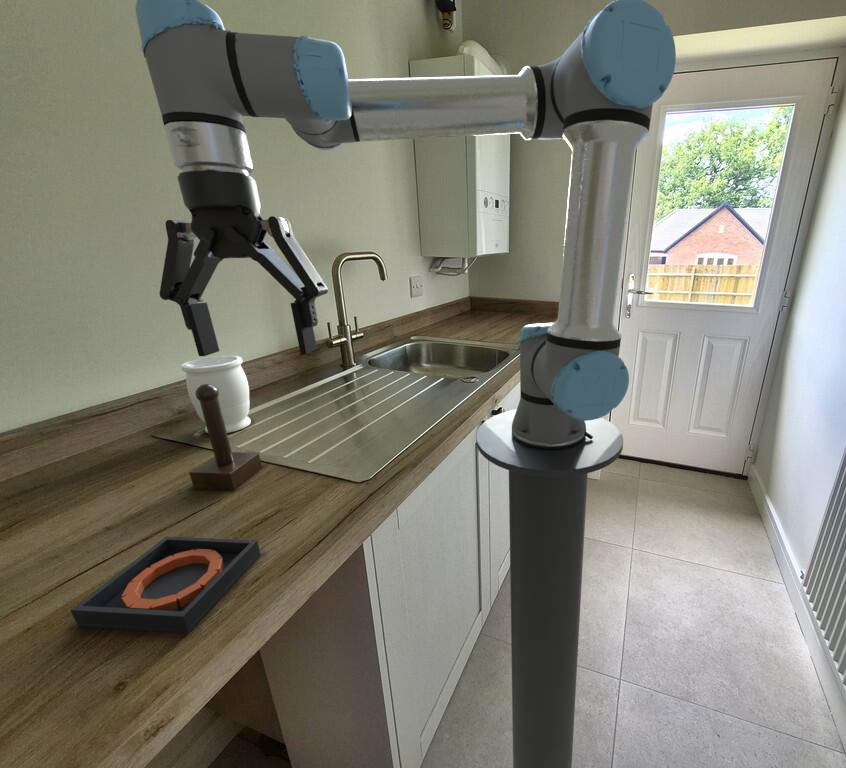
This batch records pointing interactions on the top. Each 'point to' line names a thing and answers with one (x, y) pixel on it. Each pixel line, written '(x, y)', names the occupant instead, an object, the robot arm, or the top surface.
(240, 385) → the jar
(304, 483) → the top surface
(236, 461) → the ring stand
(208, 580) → the ring
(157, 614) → the tray
